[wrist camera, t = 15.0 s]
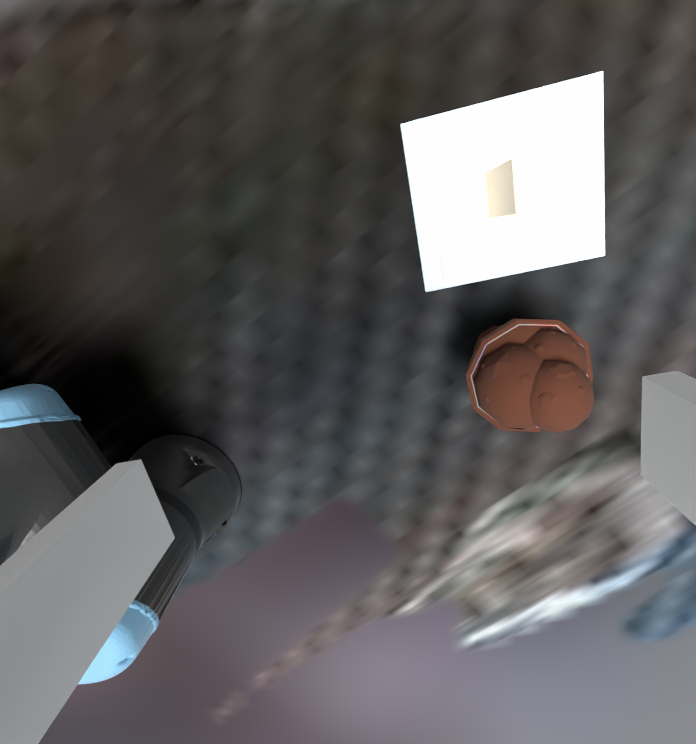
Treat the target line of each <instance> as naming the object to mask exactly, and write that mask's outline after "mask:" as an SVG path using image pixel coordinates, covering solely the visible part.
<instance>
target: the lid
mask: <svg viewBox="0 0 696 744" xmlns="http://www.w3.org/2000/svg"><path fill="white" fill-rule="evenodd" d="M423 134H424V141H425V149H426V156H427V164H428V171H429V178H430V186H431V193H432V200H433V208H434V215H435V222H436V230H437V237H438V244H439V252H440V259H441V266H442V274H443V279H444V280H446V279H451V278H456V277H461V276H466V275H471V274H475V273H480V272H485V271H490V270H495V269H500V268H505V267H509V266H514V265H519V264H524V263H529V262H534V261H539V260H543V259H548V258H553V257H558V256H563V255H568V254H573V253H577V252H582V251H587V211H586V168H585V126H584V87H583V88H579V89H575V90H572V91H568V92H564V93H560V94H556V95H552V96H548V97H544V98H541V99H537V100H533V101H529V102H525V103H521V104H517V105H513V106H510V107H506V108H502V109H498V110H494V111H490V112H486V113H483V114H479V115H475V116H471V117H467V118H463V119H459V120H455V121H452V122H448V123H444V124H440V125H436V126H432V127H428V128H425V129H424V130H423Z"/></svg>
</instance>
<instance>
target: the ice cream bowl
mask: <svg viewBox="0 0 696 744" xmlns="http://www.w3.org/2000/svg"><path fill="white" fill-rule="evenodd" d="M473 350H474V354H473V356H472V358H471V360H470V362H469V364H468V366H467V369H466V371H465V374H466V380H467V384H468V388H469V393H470V397H471V401H472V406H473V410H475V411H476V412H477V413H479V414H480V415H481V416H483V417H484V418H485V419H487V420H488V421H489V422H491V423H492V424H493V425H495V426H496V427H497V428H499V429H500V430H507V431H531V432H539V431H541V430H544V431H548V432H556V433H561V432H563V431H567V430H573V429H575V428H576V427H577V426H578V425H579V424H581V423H582V422H583V421H584V420H585V419H586V418H587V417H588V416H589V415H590V412H591V409H592V407H593V404H594V396H593V388H592V382H593V373H592V365H591V358H590V350H589V344H588V343H587V342H586V341H584V340H583V339H582V338H581V337H580V336H578V335H577V334H576V333H575V332H574V331H572V330H571V329H570V328H569V327H568V326H566V325H565V324H564V323H563V322H562V321H560V320H545V319H512V320H510V321H509V322H507V323H506V324H504V325H502V326H493V327H491V328H489V329H488V330H486V331H485V332H483V333H481V334H480V335H479V337H478V339H477V341H476V344H475V346H474V348H473Z"/></svg>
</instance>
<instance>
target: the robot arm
mask: <svg viewBox="0 0 696 744" xmlns="http://www.w3.org/2000/svg"><path fill="white" fill-rule="evenodd" d="M80 421H81V418H80V417H79V416H77V415H74V413H73V412H72V411H71V410H70V408H69V407H68V406H67V404H66V403H65V402H64V401H63V399H62V398H61V397H60V396H59V394H58V393H57V392H56V391H55V390H54V389H52V388H50V387H48V386H45V385H41V384H27V385H21V386H17V387H12V388H8V389H5V390H1V391H0V744H38V743H39V741H40V740H41V738H42V737H43V735H44V734H45V732H46V731H47V729H48V728H49V726H50V725H51V723H52V722H53V720H54V719H55V717H56V716H57V714H58V713H59V711H60V710H61V708H62V707H63V705H64V704H65V702H66V701H67V699H68V698H69V696H70V695H71V693H72V692H73V690H74V689H75V687H76V686H77V684H88V683H94V682H99V681H103V680H106V679H109V678H111V677H113V676H115V675H117V674H119V673H120V672H122V671H123V670H125V669H126V668H127V667H128V666H129V665H130V664H131V663H132V662H133V661H134V660H135V658H136V657H137V655H138V654H139V652H140V650H141V649H142V648H143V646H144V645H145V643H146V642H147V640H148V639H149V637H150V635H151V634H153V632H154V631H155V630H156V628H157V627H158V623H159V620H160V618H161V616H162V615H163V613H164V611H165V609H166V607H167V606H168V604H169V602H170V600H171V598H172V597H173V595H174V593H175V591H176V589H177V588H178V586H179V584H180V582H181V580H182V579H183V577H184V575H185V573H186V571H187V570H188V568H189V566H190V564H191V563H192V561H193V559H194V557H195V555H196V554H197V552H198V550H199V549H200V548H202V547H203V546H204V545H205V544H206V543H208V542H209V541H210V540H211V539H212V538H214V537H215V536H216V535H217V534H218V533H220V532H221V531H222V530H223V529H224V528H225V527H226V526H227V525H228V523H229V522H230V521H231V519H232V517H233V515H234V513H235V511H236V509H237V507H238V505H239V502H240V498H241V485H240V480H239V477H238V474H237V472H236V470H235V468H234V466H233V465H232V463H231V462H230V461H229V459H228V458H227V457H226V456H225V455H224V454H223V453H222V452H221V451H219V450H218V449H217V448H216V447H214V446H212V445H211V444H209V443H207V442H205V441H203V440H201V439H198V438H195V437H192V436H187V435H165V436H161V437H157V438H155V439H153V440H151V441H149V442H147V443H146V444H145V445H144V446H142V447H141V448H140V449H139V450H138V451H137V452H136V453H135V454H134V455H133V456H132V457H131V458H130V459H129V461H128V462H122V463H117V464H115V465H114V466H113V467H112V466H111V465H110V463H109V462H108V461H107V459H106V458H105V456H104V455H103V453H102V452H101V450H100V449H99V448H98V446H97V445H96V443H95V442H94V440H93V439H92V437H91V436H90V435H89V433H88V432H87V430H86V429H85V427H84V426H83V424H82V423H81V422H80ZM641 476H642V477H643V478H644V479H645V480H646V481H647V482H648V483H650V484H651V485H652V486H653V487H654V488H655V489H656V490H657V491H658V492H659V493H661V494H662V495H663V496H664V497H665V498H666V499H667V500H668V501H669V502H670V503H672V504H673V505H674V506H675V507H676V508H677V509H678V510H679V511H680V512H681V513H683V514H684V515H685V516H686V517H687V518H688V519H689V520H690V521H691V522H692V523H694V524H695V525H696V379H694V378H692V377H690V376H687V375H685V374H683V373H681V372H679V371H674V372H668V373H662V374H656V375H650V376H644V377H642V423H641Z"/></svg>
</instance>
